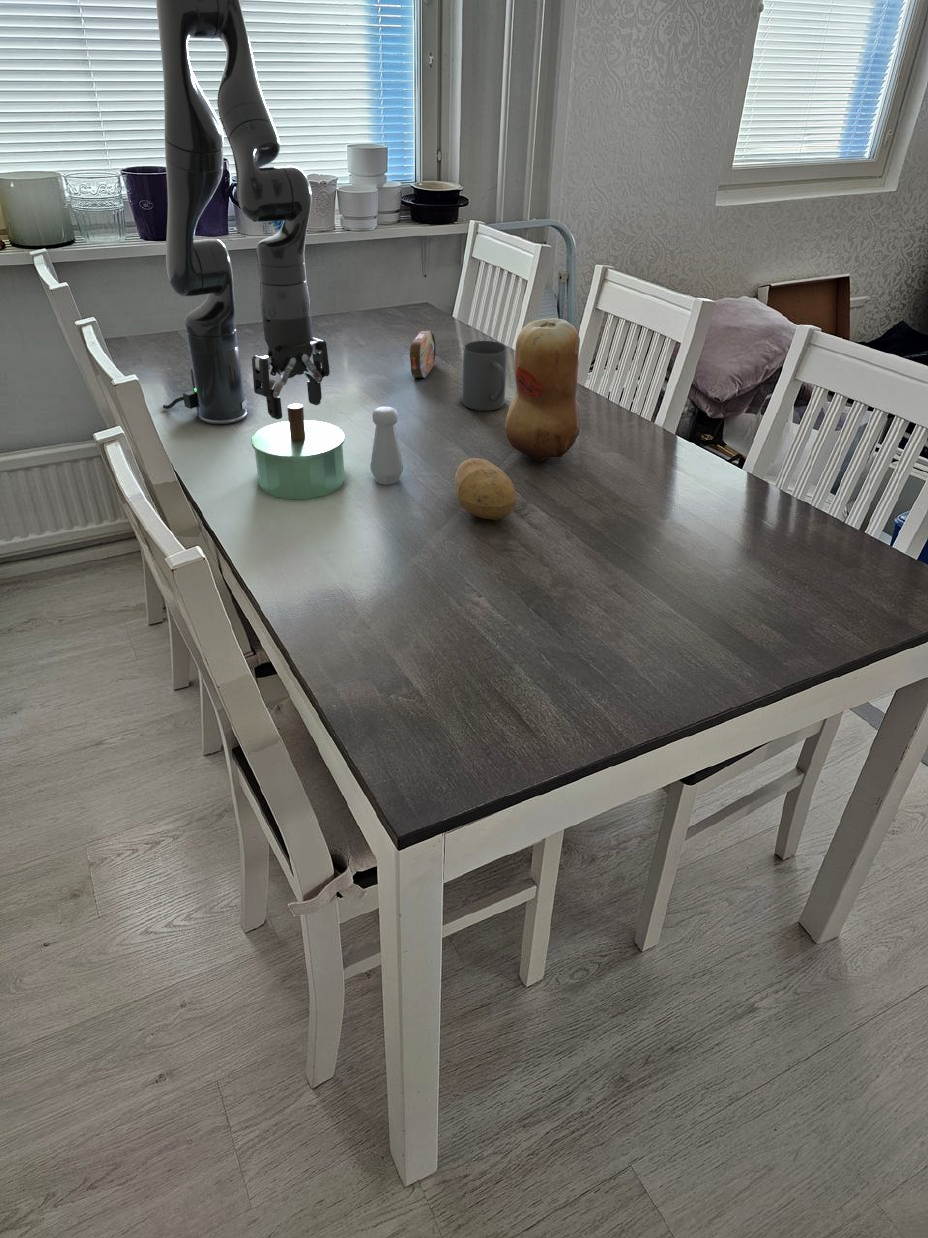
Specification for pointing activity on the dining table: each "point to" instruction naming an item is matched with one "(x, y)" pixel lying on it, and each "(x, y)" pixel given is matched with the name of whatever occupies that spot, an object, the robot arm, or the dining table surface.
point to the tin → (422, 354)
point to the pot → (301, 475)
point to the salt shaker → (386, 447)
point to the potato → (484, 489)
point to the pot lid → (297, 437)
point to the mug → (484, 375)
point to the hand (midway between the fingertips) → (295, 410)
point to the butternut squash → (545, 390)
